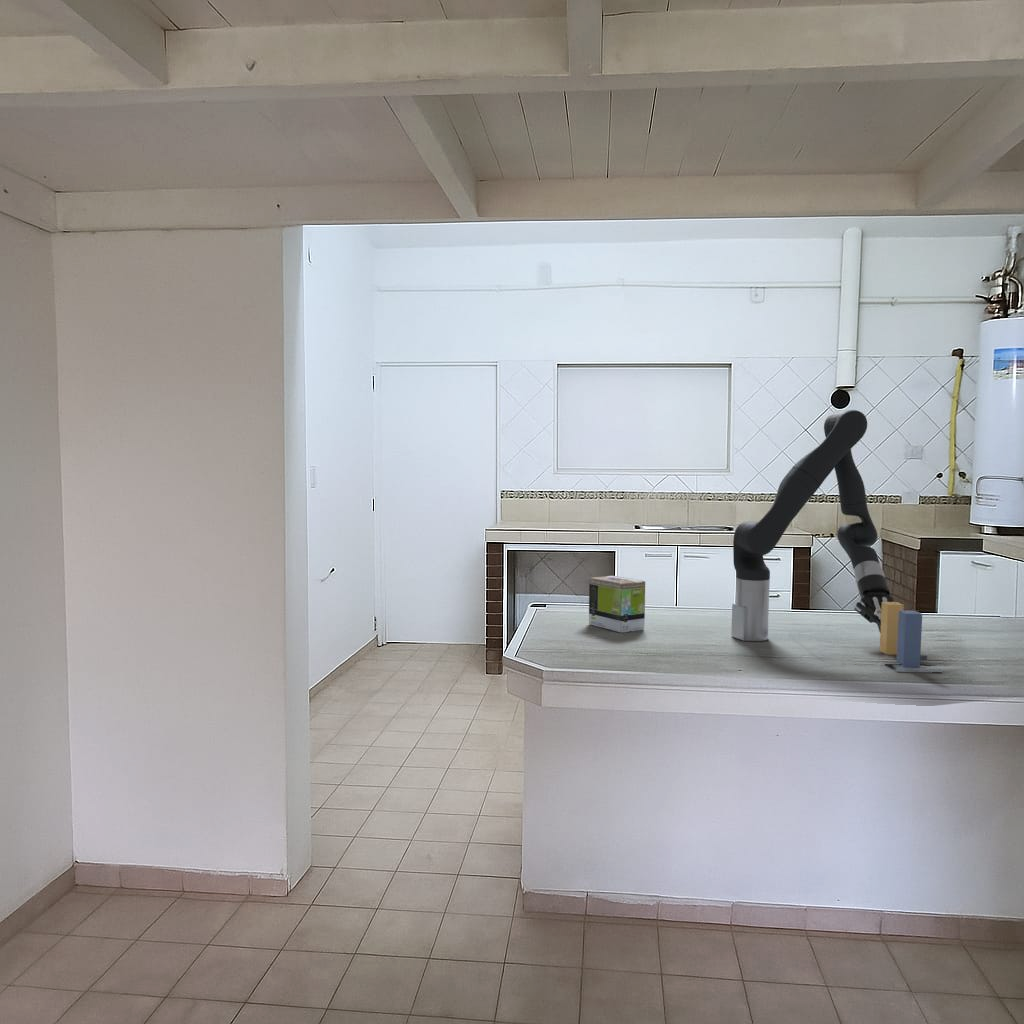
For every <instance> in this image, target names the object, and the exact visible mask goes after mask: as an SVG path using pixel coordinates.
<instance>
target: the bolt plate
mask: <svg viewBox="0 0 1024 1024" xmlns="http://www.w3.org/2000/svg"><path fill="white" fill-rule="evenodd" d="M884 665H885V666H887V667H888V668H889V669H891V670H893V671H894V672H895V673H932V672H942V673H943V668H942V667H940V666H939V665H937V664H920V666H903V665H901V664H900V663H884Z"/></svg>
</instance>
